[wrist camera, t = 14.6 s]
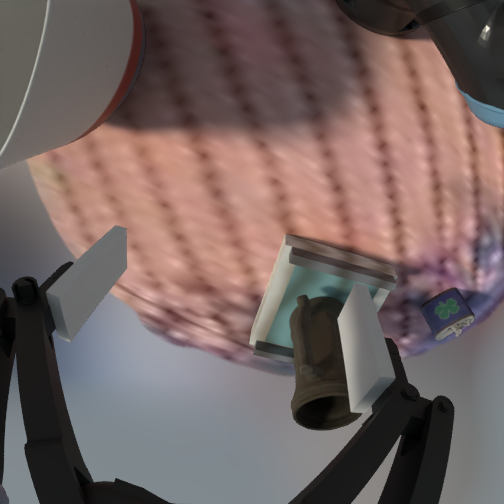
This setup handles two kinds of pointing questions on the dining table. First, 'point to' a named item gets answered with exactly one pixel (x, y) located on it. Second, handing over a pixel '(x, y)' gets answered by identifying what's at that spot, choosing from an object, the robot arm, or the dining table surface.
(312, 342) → the beer stein
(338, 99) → the dining table surface
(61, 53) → the planter
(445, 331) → the flask
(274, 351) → the tray
